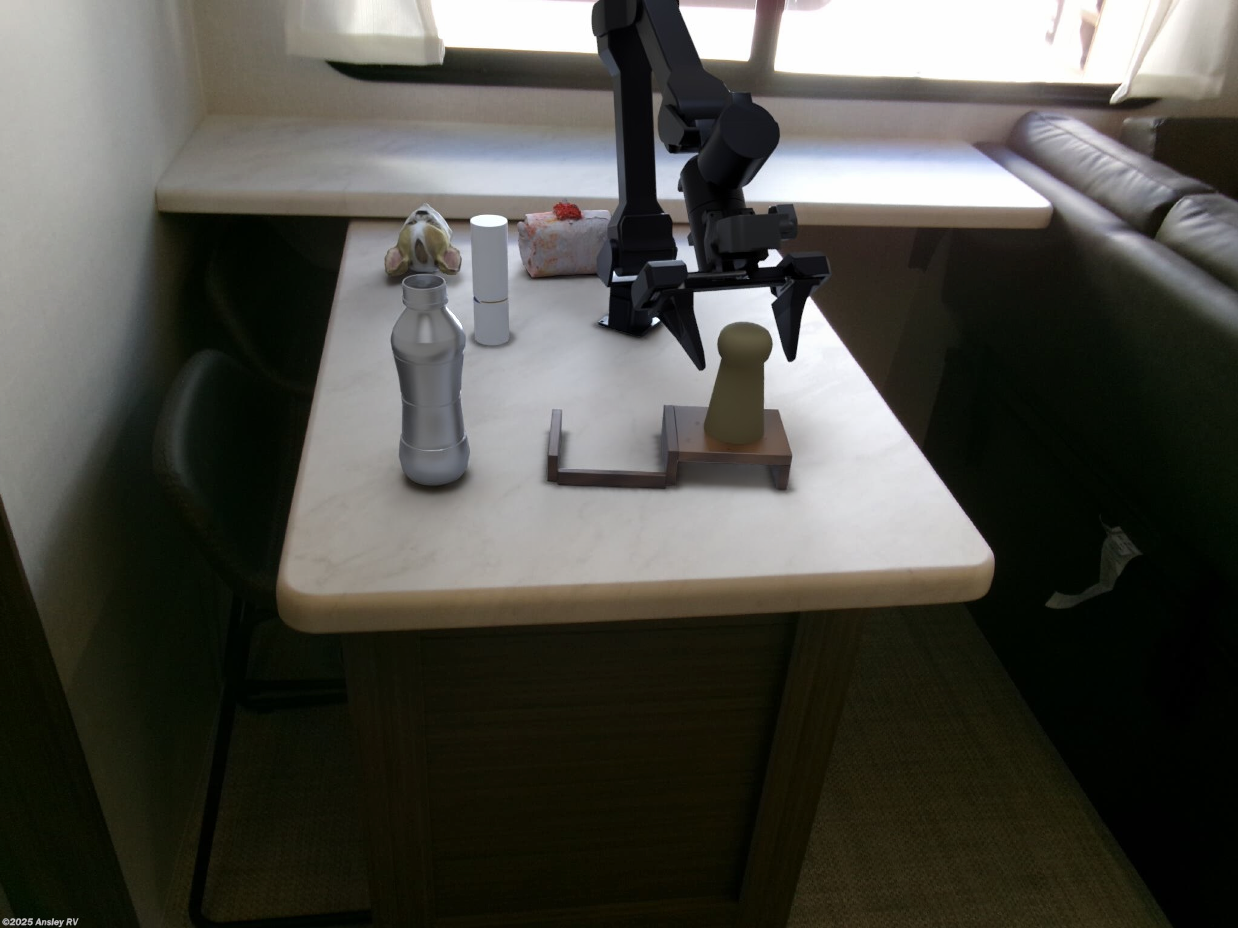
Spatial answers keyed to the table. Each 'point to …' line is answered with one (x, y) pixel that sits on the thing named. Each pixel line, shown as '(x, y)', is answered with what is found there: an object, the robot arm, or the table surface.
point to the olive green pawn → (739, 384)
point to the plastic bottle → (430, 383)
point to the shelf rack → (681, 451)
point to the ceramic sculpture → (424, 245)
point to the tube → (490, 278)
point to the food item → (562, 240)
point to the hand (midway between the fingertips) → (747, 365)
